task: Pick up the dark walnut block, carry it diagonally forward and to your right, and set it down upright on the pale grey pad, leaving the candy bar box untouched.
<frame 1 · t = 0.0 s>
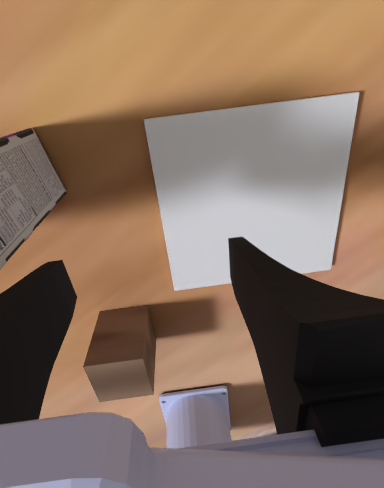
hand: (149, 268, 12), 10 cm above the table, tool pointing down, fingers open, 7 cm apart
walnut block: (129, 325, 28), on the table
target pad: (250, 204, 22), on the table
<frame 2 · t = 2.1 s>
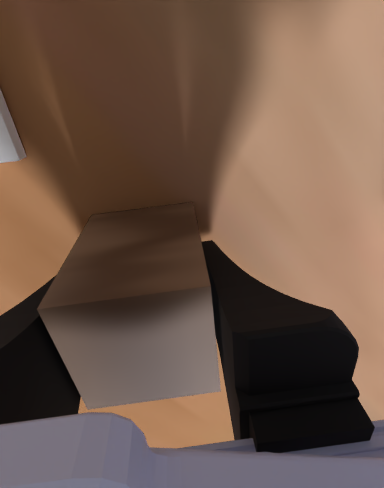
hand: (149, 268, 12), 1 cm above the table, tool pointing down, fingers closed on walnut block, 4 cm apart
walnut block: (151, 251, 14), on the table, touching gripper
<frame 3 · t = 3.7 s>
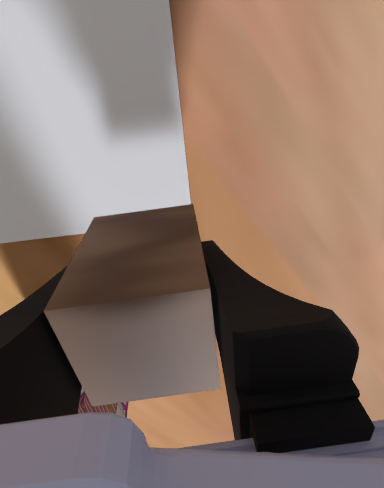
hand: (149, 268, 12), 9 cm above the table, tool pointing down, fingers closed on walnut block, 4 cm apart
walnut block: (152, 252, 14), point 7 cm above the table, touching gripper
candy bar box: (88, 345, 27), on the table
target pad: (65, 125, 17), on the table
when the fingers open (3 cm above the table, at t = 5.6 s): walnut block drops 1 cm, resting on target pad.
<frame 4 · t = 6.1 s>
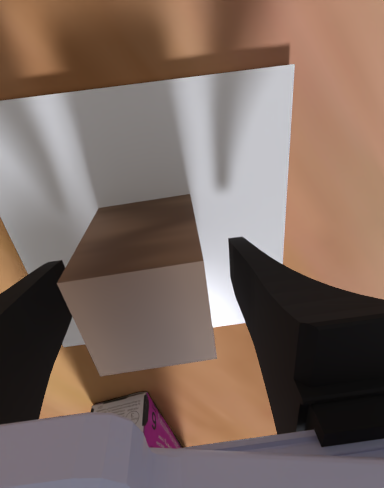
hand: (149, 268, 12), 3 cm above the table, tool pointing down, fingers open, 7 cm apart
walnut block: (153, 240, 15), point 1 cm above the table, touching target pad
candy bar box: (146, 427, 25), on the table
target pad: (153, 232, 15), on the table
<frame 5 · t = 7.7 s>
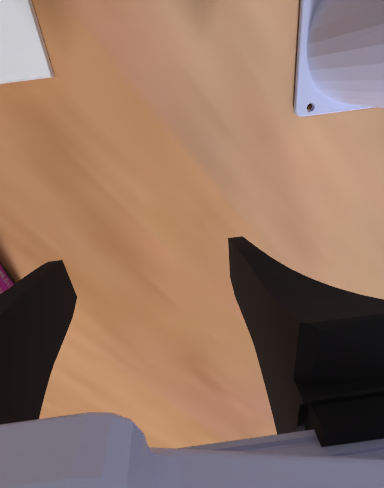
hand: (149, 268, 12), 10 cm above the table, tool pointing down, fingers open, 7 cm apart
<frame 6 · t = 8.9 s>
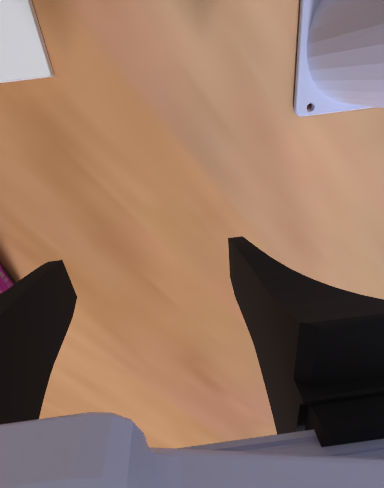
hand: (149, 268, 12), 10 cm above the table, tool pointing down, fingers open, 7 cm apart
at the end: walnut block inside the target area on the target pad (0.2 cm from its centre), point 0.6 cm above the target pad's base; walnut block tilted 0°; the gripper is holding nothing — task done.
